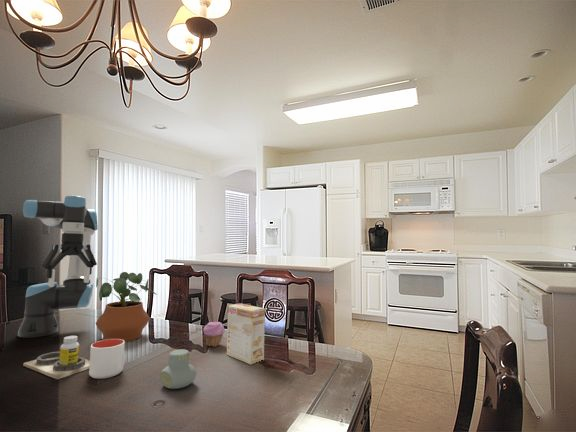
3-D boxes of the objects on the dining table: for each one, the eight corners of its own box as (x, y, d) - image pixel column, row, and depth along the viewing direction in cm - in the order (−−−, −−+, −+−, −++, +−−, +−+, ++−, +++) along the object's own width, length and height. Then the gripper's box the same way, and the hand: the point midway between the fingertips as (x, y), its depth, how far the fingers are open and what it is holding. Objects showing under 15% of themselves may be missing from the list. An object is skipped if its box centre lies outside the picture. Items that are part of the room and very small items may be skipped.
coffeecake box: (264, 360, 122) (265, 308, 124) (250, 365, 117) (251, 310, 118) (240, 350, 132) (241, 302, 134) (225, 354, 127) (227, 304, 129)
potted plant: (81, 341, 140) (85, 272, 143) (130, 325, 167) (133, 267, 169) (122, 347, 133) (126, 275, 136) (167, 330, 160) (169, 269, 163)
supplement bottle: (67, 370, 107) (70, 340, 108) (54, 368, 109) (57, 338, 109) (81, 364, 113) (83, 335, 113) (68, 362, 114) (70, 334, 115)
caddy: (63, 354, 124) (63, 348, 124) (97, 365, 114) (97, 358, 114) (23, 365, 113) (23, 358, 113) (57, 379, 102) (57, 371, 103)
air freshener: (156, 384, 100) (158, 351, 101) (180, 376, 107) (181, 345, 108) (175, 395, 93) (176, 360, 94) (199, 385, 100) (200, 352, 101)
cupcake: (198, 346, 136) (199, 322, 137) (211, 341, 144) (211, 318, 145) (216, 349, 133) (217, 325, 133) (228, 343, 141) (228, 320, 142)
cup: (129, 370, 111) (131, 340, 111) (104, 382, 101) (106, 349, 102) (107, 366, 114) (109, 337, 115) (81, 377, 104) (83, 345, 105)
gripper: (43, 232, 121) (39, 289, 119) (107, 233, 143) (104, 281, 141) (33, 232, 124) (29, 287, 123) (97, 233, 146) (94, 280, 145)
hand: (69, 284), depth 132 cm, fingers open, 13 cm apart
